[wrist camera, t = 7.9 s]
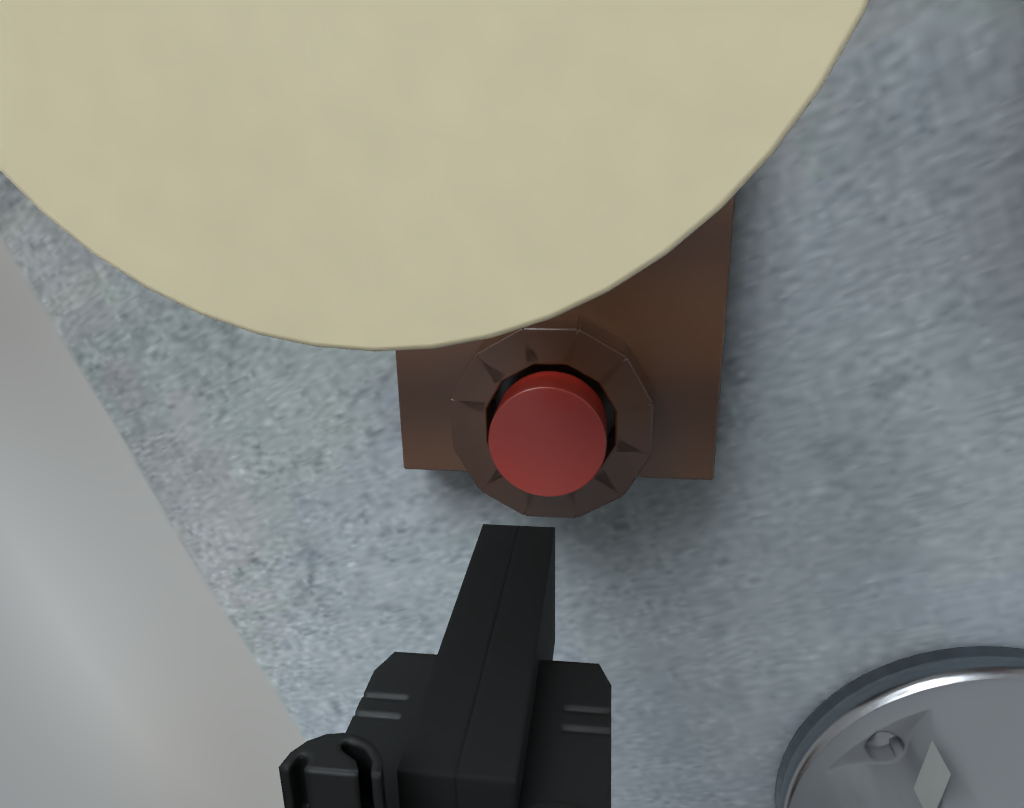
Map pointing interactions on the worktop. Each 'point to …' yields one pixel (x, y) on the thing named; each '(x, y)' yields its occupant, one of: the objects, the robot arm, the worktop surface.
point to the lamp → (398, 147)
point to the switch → (549, 434)
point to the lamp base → (591, 379)
